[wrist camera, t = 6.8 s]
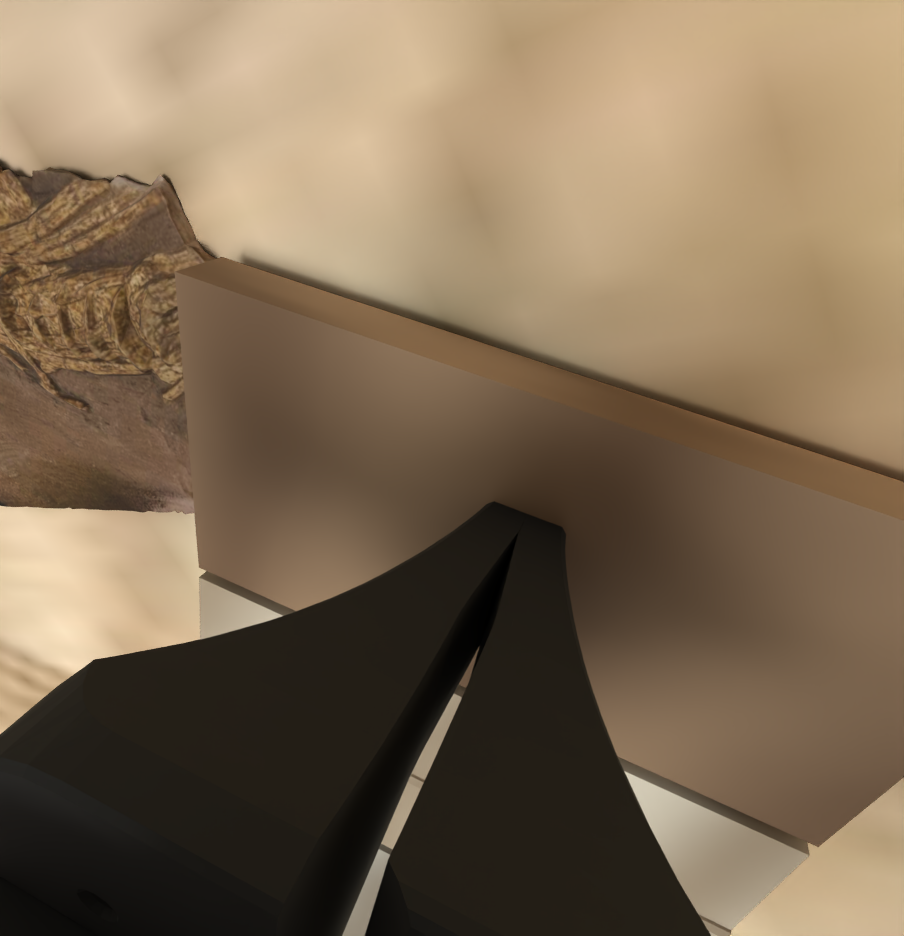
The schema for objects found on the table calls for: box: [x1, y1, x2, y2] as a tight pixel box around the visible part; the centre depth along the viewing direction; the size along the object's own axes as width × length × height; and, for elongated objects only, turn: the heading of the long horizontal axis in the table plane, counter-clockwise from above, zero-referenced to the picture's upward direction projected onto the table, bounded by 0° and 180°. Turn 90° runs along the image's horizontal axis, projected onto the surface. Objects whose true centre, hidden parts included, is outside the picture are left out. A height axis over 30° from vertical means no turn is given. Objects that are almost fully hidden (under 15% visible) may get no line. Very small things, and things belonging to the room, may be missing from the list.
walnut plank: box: [175, 257, 904, 847], centre depth 11 cm, size 14×7×1 cm, turn 78°
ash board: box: [199, 571, 809, 936], centre depth 15 cm, size 14×7×1 cm, turn 78°
